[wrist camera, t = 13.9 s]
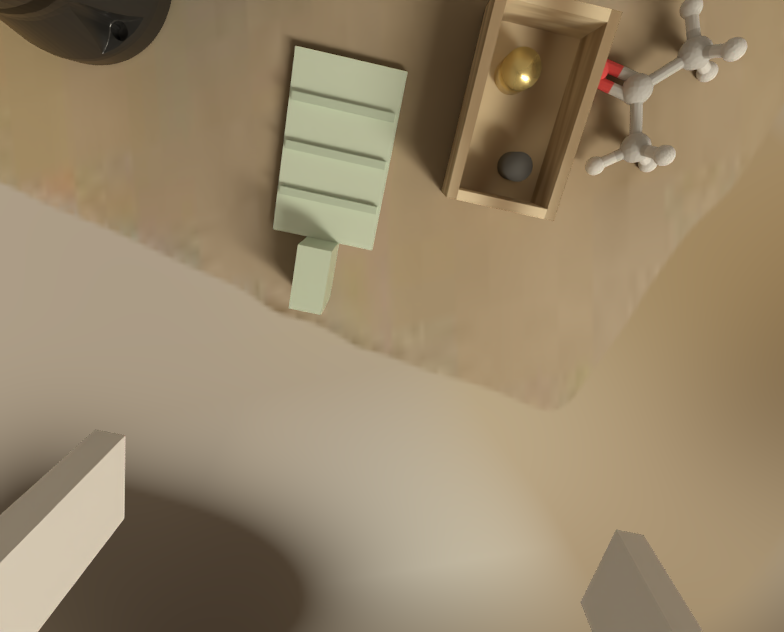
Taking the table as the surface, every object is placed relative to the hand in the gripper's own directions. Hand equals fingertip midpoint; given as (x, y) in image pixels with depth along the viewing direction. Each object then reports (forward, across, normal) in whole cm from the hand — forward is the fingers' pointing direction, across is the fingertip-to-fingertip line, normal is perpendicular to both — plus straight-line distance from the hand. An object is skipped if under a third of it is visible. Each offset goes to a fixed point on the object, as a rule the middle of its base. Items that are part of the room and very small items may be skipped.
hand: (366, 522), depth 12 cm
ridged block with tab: (+35, -7, +5) cm, 36 cm away
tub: (+35, +8, +14) cm, 38 cm away
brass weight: (+34, +6, +17) cm, 39 cm away
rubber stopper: (+34, +8, +10) cm, 37 cm away
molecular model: (+35, +18, +18) cm, 43 cm away
